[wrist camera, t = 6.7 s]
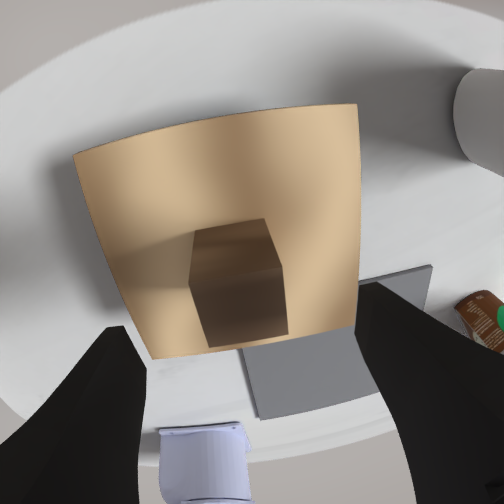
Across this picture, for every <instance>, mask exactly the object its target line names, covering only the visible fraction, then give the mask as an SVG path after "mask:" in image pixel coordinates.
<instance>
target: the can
mask: <svg viewBox="0 0 504 504" xmlns="http://www.w3.org/2000/svg"><path fill="white" fill-rule="evenodd" d="M453 120H454V126H455V131H456V137H457V139H458V142H459V144H460V146H461V149H462V151H463V152H464V153H465V155H466V156H467V157H468V159H469V160H470V161H472V162H474V163H475V164H477V165H479V166H481V167H483V168H485V169H488V170H490V171H492V172H494V173H496V174H498V175H500V176H503V177H504V70H494V69H482V68H480V69H474V70H471V71H470V72H468V73H467V74H466V75H465V76H464V77H463V78H462V80H461V82H460V84H459V86H458V87H457V91H456V95H455V100H454V104H453Z"/></svg>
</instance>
